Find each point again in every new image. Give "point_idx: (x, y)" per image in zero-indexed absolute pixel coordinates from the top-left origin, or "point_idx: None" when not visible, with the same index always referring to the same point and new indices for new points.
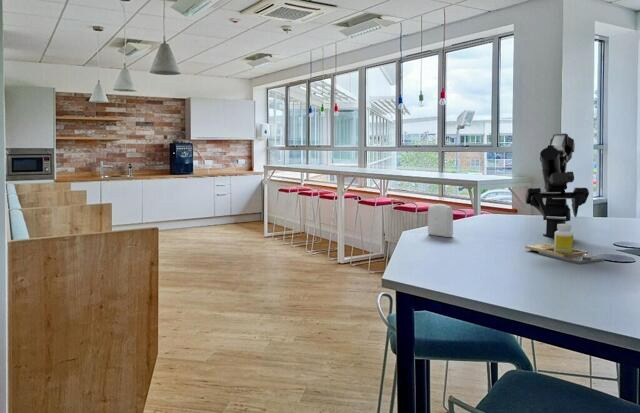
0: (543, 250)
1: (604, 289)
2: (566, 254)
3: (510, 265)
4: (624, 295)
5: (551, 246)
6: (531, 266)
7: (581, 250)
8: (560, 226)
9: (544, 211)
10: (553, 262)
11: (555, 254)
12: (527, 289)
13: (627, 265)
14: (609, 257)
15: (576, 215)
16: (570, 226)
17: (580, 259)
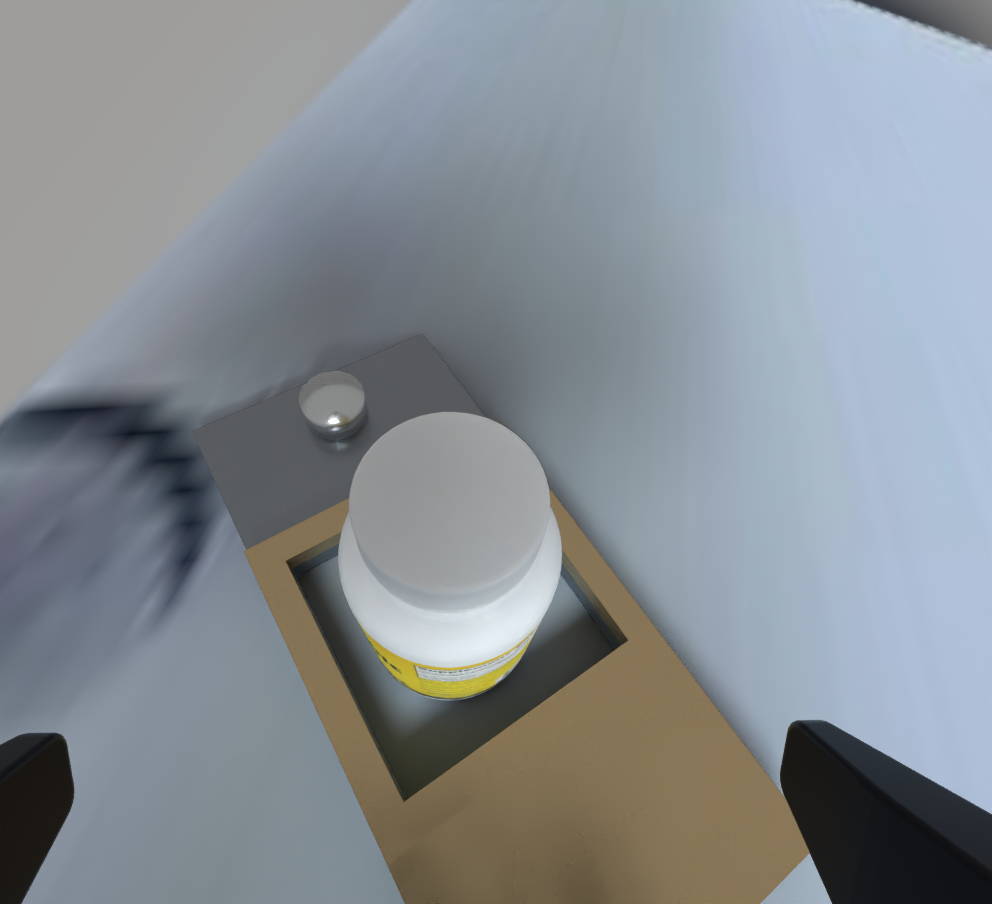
0: (631, 598)
1: (470, 47)
2: None
3: (822, 302)
4: (432, 12)
5: (526, 818)
6: (710, 289)
7: (277, 607)
8: (518, 447)
9: (900, 773)
10: (576, 378)
11: None
12: (717, 49)
13: (129, 332)
14: (75, 565)
15: (37, 739)
16: (380, 445)
17: (397, 379)
